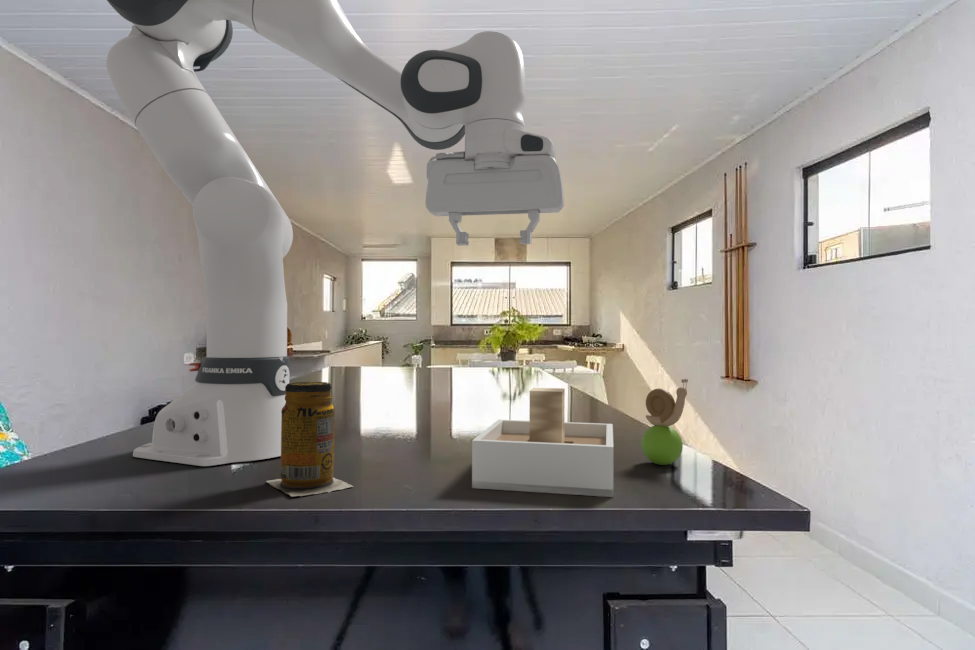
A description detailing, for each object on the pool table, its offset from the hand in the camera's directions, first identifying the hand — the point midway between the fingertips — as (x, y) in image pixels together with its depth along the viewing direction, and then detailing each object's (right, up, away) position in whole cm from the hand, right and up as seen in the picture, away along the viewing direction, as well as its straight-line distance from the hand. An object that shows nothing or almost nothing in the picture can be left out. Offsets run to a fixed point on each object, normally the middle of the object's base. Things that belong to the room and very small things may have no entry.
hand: (493, 244), depth 83 cm
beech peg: (+7, -30, -11) cm, 33 cm away
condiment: (-22, -31, -16) cm, 41 cm away
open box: (+7, -31, -11) cm, 33 cm away
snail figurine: (+23, -31, -5) cm, 39 cm away
